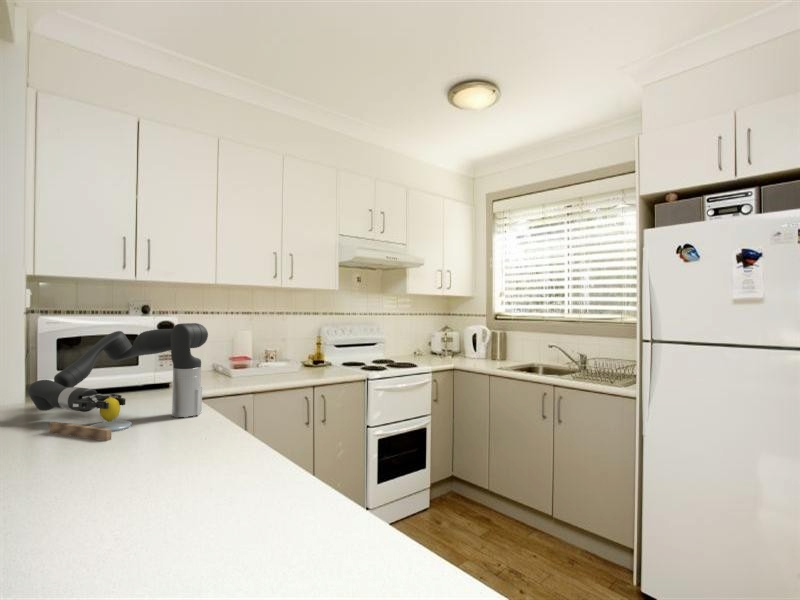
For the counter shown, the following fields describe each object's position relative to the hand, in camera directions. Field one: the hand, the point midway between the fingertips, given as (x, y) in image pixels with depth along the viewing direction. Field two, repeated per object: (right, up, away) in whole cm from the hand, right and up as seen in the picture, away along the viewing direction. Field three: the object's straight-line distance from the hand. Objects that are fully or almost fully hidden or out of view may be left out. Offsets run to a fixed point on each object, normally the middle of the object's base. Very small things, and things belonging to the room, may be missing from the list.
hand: (116, 403), depth 143 cm
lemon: (-3, -6, +1) cm, 7 cm away
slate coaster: (-3, -8, +1) cm, 8 cm away
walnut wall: (-6, -8, -9) cm, 13 cm away
